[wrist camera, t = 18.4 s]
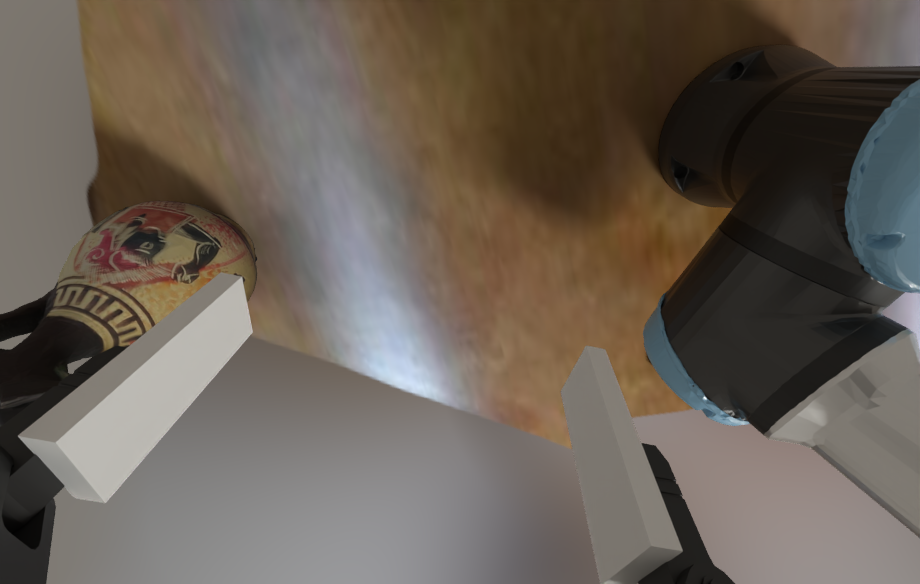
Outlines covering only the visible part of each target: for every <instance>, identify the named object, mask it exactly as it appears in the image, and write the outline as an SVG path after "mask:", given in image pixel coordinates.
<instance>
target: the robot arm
mask: <svg viewBox="0 0 920 584" xmlns="http://www.w3.org/2000/svg"><path fill="white" fill-rule="evenodd" d="M659 164H660V169H661V172H662V174H663V177H664V179H665V180H666V182H667V183H668V185H669V186H670V187H671V188H672V189H673V190H674V191H675V192H677V193H678V194H680V195H681V196H683V197H685V198H686V199H688V200H690V201H692V202H694V203H697V204H700V205H704V206H709V207H725V208H733V209H732V210H731V211H730V213H729V214H728V215H727V217H726V218H725V219H724V220H723V222H722V223H721V224H720V225H719V226H718V228H717V229H716V230H715V232H714V233H713V234H712V236H711V237H710V238H709V239H708V241H707V242H706V243H705V245H704V246H703V247H702V249H701V250H700V251H699V252H698V254H697V255H696V256H695V258H694V259H693V260H692V261H691V263H690V264H689V265H688V266H687V268H686V269H685V270H684V271H683V273H682V274H681V275H680V277H679V278H678V279H677V280H676V282H675V283H674V284H673V285H672V287H671V288H670V289H669V290H668V291H667V292H666V293H665V294H663V295H662V297H661V298H660V300H659V303H658V306H657V308H656V309H655V311H654V312H653V314H652V315H651V317H650V318H649V319H648V321H647V323H646V325H645V327H644V331H643V336H644V347H645V350H646V353H647V355H648V358H649V360H650V362H651V363H652V365H653V367H654V368H655V370H656V371H657V373H658V374H659V375H660V377H661V378H662V379H663V381H664V382H665V383H666V384H667V385H668V386H669V387H670V388H671V389H672V390H673V391H674V392H675V393H676V394H677V395H678V396H679V397H680V398H681V399H682V400H683V401H685V402H686V403H687V404H688V405H690V406H691V407H692V408H694V409H695V410H702V411H703V412H704V413H705V415H706V416H707V417H708V418H710V419H712V420H714V421H716V422H719V423H722V424H725V425H732V426H738V425H746V424H752V425H753V426H754V427H755V428H756V429H757V430H758V431H760V432H761V433H762V434H763V435H764V436H765V437H766V438H768V439H771V440H777V441H783V442H789V443H795V444H800V445H803V446H806V447H809V448H811V449H812V450H814V451H815V452H816V453H817V454H818V455H820V456H821V457H822V458H823V459H824V460H826V461H827V462H828V463H829V464H831V465H832V466H833V467H834V468H836V469H837V470H838V471H839V472H840V473H842V474H843V475H844V476H845V477H846V478H847V479H849V480H850V481H851V482H852V483H854V484H855V485H856V486H857V487H858V488H860V489H861V490H862V491H863V492H864V493H866V494H867V495H868V496H869V497H870V498H872V499H873V500H874V501H875V502H877V503H878V504H879V505H880V506H881V507H883V508H884V509H885V510H886V511H887V512H889V513H890V514H891V515H892V516H894V517H895V518H896V519H897V520H898V521H900V522H901V523H902V524H903V525H904V526H906V527H907V528H908V529H909V530H910V531H912V532H913V533H914V534H915V535H916V536H918V537H919V538H920V350H919V346H918V342H917V337H916V334H915V333H914V332H913V331H911V330H910V329H908V328H906V327H904V326H902V325H901V324H899V323H897V322H895V321H893V320H891V319H889V318H887V317H885V316H884V315H883V314H882V311H883V310H884V309H885V308H887V307H888V306H889V305H890V304H891V303H893V302H894V301H895V300H896V299H897V298H899V297H900V296H901V295H902V294H903V293H905V292H909V293H920V66H896V67H836V66H834V65H832V64H831V63H829V62H827V61H826V60H824V59H822V58H821V57H819V56H817V55H816V54H814V53H812V52H810V51H808V50H806V49H803V48H800V47H796V46H790V45H770V46H758V47H752V48H748V49H744V50H741V51H738V52H735V53H733V54H731V55H728V56H726V57H724V58H723V59H721V60H719V61H717V62H716V63H714V64H713V65H711V66H710V67H708V68H707V69H706V70H705V71H703V72H702V73H701V74H700V75H699V76H697V77H696V78H695V79H694V80H693V81H692V82H691V83H690V84H689V85H688V87H687V88H686V89H685V90H684V91H683V92H682V94H681V95H680V96H679V98H678V99H677V101H676V102H675V104H674V105H673V107H672V109H671V111H670V112H669V114H668V116H667V119H666V121H665V124H664V126H663V129H662V132H661V137H660V142H659ZM252 332H253V331H252V326H251V321H250V315H249V310H248V305H247V300H246V295H245V290H244V285H243V279H242V277H241V276H236V275H231V274H226V273H219V274H218V275H217V276H216V277H215V278H213V279H212V280H211V281H210V282H208V283H207V284H206V285H205V286H203V287H202V288H201V289H200V290H198V291H197V292H196V293H195V294H193V295H192V296H191V297H190V298H188V299H187V300H186V301H185V302H183V303H182V304H181V305H180V306H178V307H177V308H176V309H175V310H173V311H172V312H171V313H170V314H169V315H167V316H166V317H165V318H164V319H162V320H161V321H160V322H159V323H157V324H156V325H155V326H154V327H152V328H151V329H150V330H149V331H147V332H146V333H145V334H144V335H142V336H141V337H140V338H139V339H137V340H136V341H135V342H134V343H132V344H131V345H130V346H129V347H122V346H115V347H112V348H110V349H108V350H106V351H104V352H102V353H100V354H98V355H95V356H93V357H92V358H91V359H89V360H88V361H87V362H85V363H84V364H83V365H81V366H80V367H79V368H78V369H76V370H75V371H74V373H73V374H70V375H68V376H67V377H66V378H64V379H63V380H62V381H60V382H59V384H58V386H54V387H52V388H51V389H50V390H48V391H47V392H46V393H44V394H43V395H42V396H40V397H39V398H38V399H37V400H35V401H34V402H33V403H31V404H30V405H29V406H27V407H26V408H25V409H23V410H22V411H21V412H19V413H18V414H17V415H15V416H14V417H13V418H11V419H10V420H9V421H8V422H6V423H5V424H4V425H2V426H1V427H0V584H46V580H47V572H48V564H49V556H50V548H51V541H52V533H53V525H54V517H55V509H56V506H55V501H54V499H53V497H54V496H55V495H56V494H57V493H58V492H59V491H60V490H61V489H62V488H63V487H65V488H66V489H67V490H68V492H69V493H70V494H71V495H72V496H73V497H74V498H78V499H83V500H89V501H96V502H101V503H106V502H107V501H108V499H110V497H111V496H112V495H113V494H114V493H115V492H116V490H117V489H118V488H119V487H120V486H121V485H122V484H123V482H124V481H125V480H126V479H127V478H128V477H129V475H130V474H131V473H132V472H133V471H134V470H135V468H136V467H137V466H138V465H139V464H140V463H141V461H142V460H143V459H144V458H145V457H146V456H147V454H148V453H149V452H150V451H151V450H152V449H153V447H154V446H155V445H156V444H157V443H158V442H159V441H160V439H161V438H162V437H163V436H164V435H165V433H166V432H167V431H168V430H169V429H170V428H171V427H172V425H173V424H174V423H175V422H176V420H178V418H179V417H180V416H181V415H182V414H183V413H184V411H185V410H186V409H187V408H188V407H189V406H190V405H191V403H192V402H193V401H194V400H195V399H196V398H197V396H198V395H199V394H200V393H201V392H202V391H203V389H204V388H205V387H206V386H207V385H208V383H209V382H210V381H211V380H212V379H213V378H214V377H215V375H216V374H217V373H218V372H219V371H220V370H221V368H222V367H223V366H224V365H225V364H226V363H227V362H228V360H229V359H230V358H231V357H232V355H234V353H235V352H236V351H237V350H238V349H239V348H240V346H241V345H242V344H243V343H244V342H245V341H246V339H247V338H248V337H249V336H250V335H251V334H252ZM561 396H562V400H563V405H564V410H565V415H566V420H567V425H568V430H569V435H570V439H571V444H572V449H573V454H574V459H575V464H576V469H577V474H578V478H579V483H580V488H581V493H582V498H583V503H584V508H585V512H586V517H587V522H588V527H589V532H590V536H591V541H592V546H593V551H594V556H595V561H596V566H597V571H598V576H599V581H600V584H637V583H638V584H735V583H734V582H733V581H732V580H731V579H730V578H729V577H728V576H727V575H726V574H725V573H724V572H723V571H721V570H720V569H718V568H717V567H715V566H714V564H713V563H712V561H711V559H710V557H709V555H708V553H707V551H706V548H705V546H704V544H703V541H702V539H701V537H700V534H699V532H698V530H697V527H696V525H695V523H694V521H693V518H692V516H691V514H690V511H689V509H688V507H687V504H686V502H685V500H684V499H683V498H682V493H681V491H680V488H679V486H678V484H676V479H675V477H674V474H673V472H672V470H671V467H670V465H669V463H668V461H667V460H666V459H665V458H664V456H663V455H662V454H661V452H660V451H659V450H658V449H657V447H656V446H654V445H649V444H643V443H641V441H640V438H639V436H638V433H637V431H636V428H635V426H634V423H633V420H632V418H631V415H630V412H629V410H628V407H627V405H626V402H625V400H624V397H623V394H622V392H621V389H620V387H619V384H618V381H617V379H616V376H615V374H614V371H613V368H612V366H611V363H610V361H609V358H608V355H607V353H606V350H605V349H601V348H596V347H591V346H586V347H585V348H584V350H583V352H582V354H581V356H580V358H579V359H578V361H577V363H576V365H575V367H574V368H573V370H572V372H571V374H570V376H569V377H568V379H567V381H566V383H565V385H564V387H563V388H562V390H561Z"/></svg>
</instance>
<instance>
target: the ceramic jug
mask: <svg viewBox="0 0 920 584" xmlns="http://www.w3.org/2000/svg"><path fill="white" fill-rule="evenodd" d="M256 260H257V257H256V255H255V248H254V245H253V242H252V240H251V238H250V237H249V235H248V234H247V233H246V232H245V230H244V229H243V228H242V227H241V226H239V225H238V224H237V223H235V222H234V221H232V220H230V219H229V218H227V217H225V216H223V215H220V214H215V213H212V212H210V211H209V210H207V209H205V208H202V207H200V206H198V205H193V204H187V203H181V202H173V201H150V202H144V203H140V204H136V205H133V206H131V207H126V208H124V209H123V210H119V211H117V212H116V213H114V214H112V215H110V216H109V217H107V218H105V219H104V220H102V221H101V222H99V223H98V224H97V225H95V226H94V227H93V228H91V229H90V230H89V231H88V232H87V233H86V234H85V235H84V236H83V237H82V239H81V240H80V241H79V242H78V243H77V244H76V245H75V246H74V247H73V249H72V251H71V253H70V254H69V257H68V259H67V261H66V263H65V264H64V266H63V268H62V270H61V272H60V275H59V279H58V282H57V284H56V286H55V288H54V289H53V290H51V291H50V292H48V293H47V294H46V295H45V296H44V297H42V298H40V299H38V300H36V301H33V302H31V303H28V304H26V305H23V306H21V307H19V308H18V309H15V310H14V311H11V312H8V313H4V314H0V342H1V341H4V340H7V339H9V338H12V337H15V336H19V335H24V334H28V333H31V332H32V333H31V334H30V335H29V336H28V337H27V338H26V339H25V340H23V341H22V343H20V344H18V345H17V346H16V347H15V348H13V349H11V350H5V349H0V427H1V426H2V425H4V424H5V423H6V422H8V421H9V420H10V419H11V418H13V417H14V416H15V415H17V414H18V413H19V412H21V411H22V410H23V409H25V408H26V407H27V406H29V405H30V404H31V403H33V402H34V401H35V400H37V399H38V398H39V397H40V396H42V395H43V394H44V393H46V392H47V391H48V390H50V389H51V388H52V387H54V386H58V384H59V382H60V381H62V380H63V379H64V378H66V377H67V376H68V375H70V374H69V373H68V367H67V364H69V363H71V362H74V361H77V360H81V359H82V358H89V357H93V356H95V355H98V354H100V353H102V352H104V351H106V350H108V349H110V348H112V347H115V346H122V347H129V346H130V345H131V344H132V343H134V342H135V341H136V340H137V339H139V338H140V337H141V336H142V335H144V334H145V333H146V332H147V331H149V330H150V329H151V328H152V327H154V326H155V325H156V324H157V323H159V322H160V321H161V320H162V319H164V318H165V317H166V316H167V315H169V314H170V313H171V312H172V311H173V310H175V309H176V308H177V307H178V306H180V305H181V304H182V303H183V302H185V301H186V300H187V299H188V298H190V297H191V296H192V295H193V294H195V293H196V292H197V291H198V290H200V289H201V288H202V287H203V286H205V285H206V284H207V283H208V282H210V281H211V280H212V279H213V278H215V277H216V276H217V275H218V274H219V273H226V274H231V275H236V276H241V277H242V279H243V285H244V290H245V295H246V300H247V302H248V301H249V299H250V297H251V295H252V293H253V291H254V288H255V284H256V279H257V268H256V263H255V262H256Z"/></svg>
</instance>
